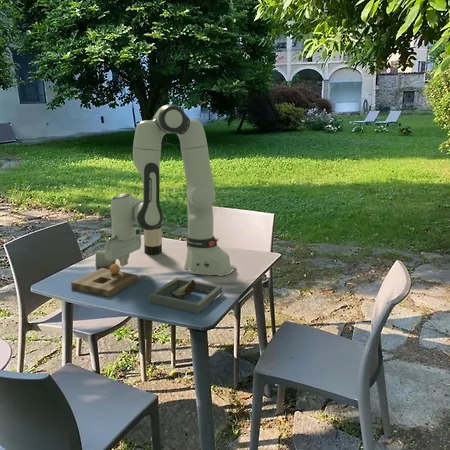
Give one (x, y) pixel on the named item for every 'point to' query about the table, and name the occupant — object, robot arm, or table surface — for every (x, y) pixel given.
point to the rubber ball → (114, 269)
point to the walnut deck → (111, 282)
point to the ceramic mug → (102, 260)
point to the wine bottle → (153, 241)
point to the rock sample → (184, 290)
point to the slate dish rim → (161, 299)
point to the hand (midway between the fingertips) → (124, 265)
